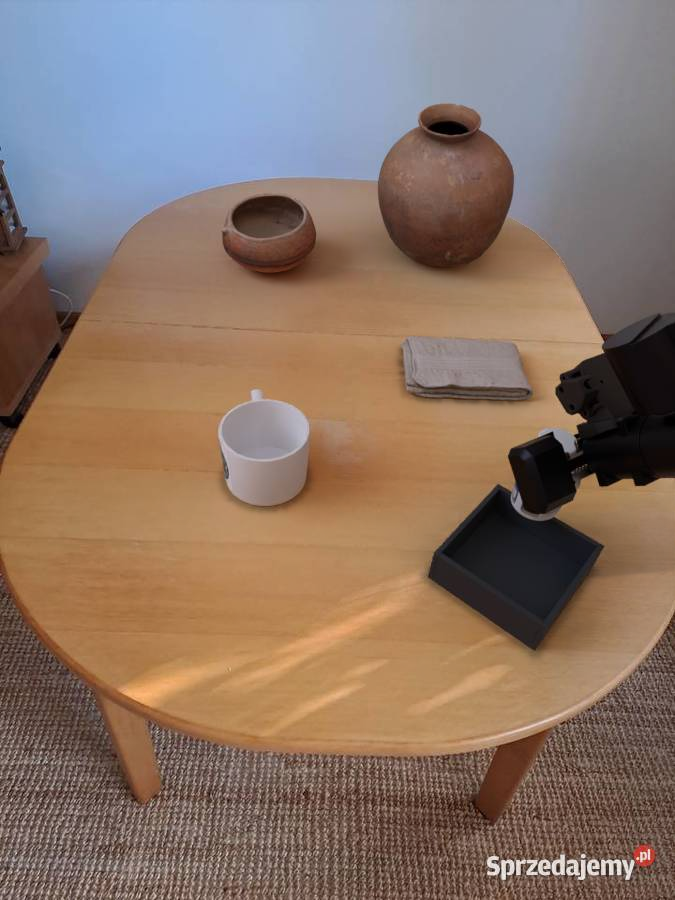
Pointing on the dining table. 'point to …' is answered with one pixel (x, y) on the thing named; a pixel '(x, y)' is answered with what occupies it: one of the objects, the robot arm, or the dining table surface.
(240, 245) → the bowl
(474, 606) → the black square tray
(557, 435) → the pill bottle
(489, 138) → the pottery
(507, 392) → the washcloth
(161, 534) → the dining table surface
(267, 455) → the mug
